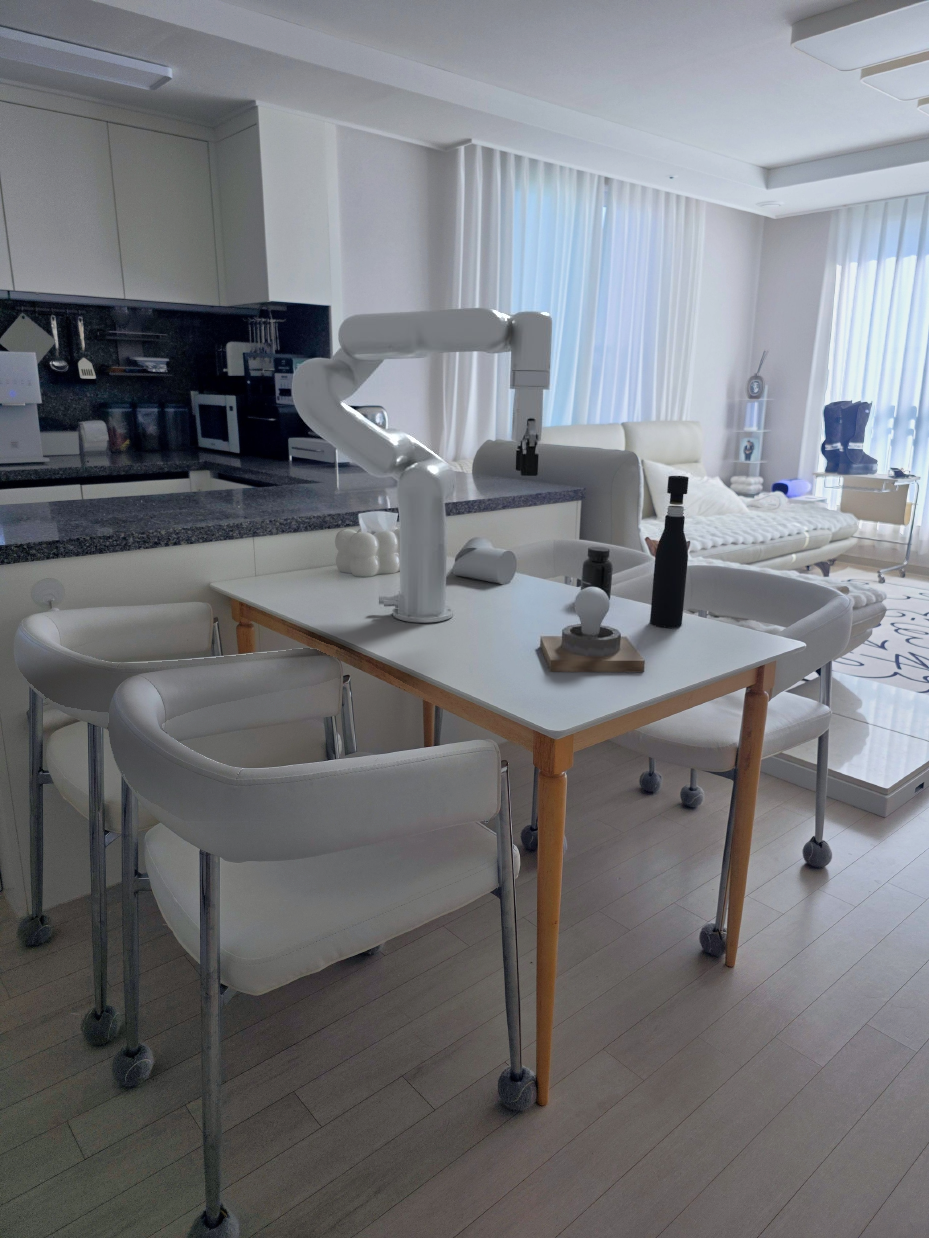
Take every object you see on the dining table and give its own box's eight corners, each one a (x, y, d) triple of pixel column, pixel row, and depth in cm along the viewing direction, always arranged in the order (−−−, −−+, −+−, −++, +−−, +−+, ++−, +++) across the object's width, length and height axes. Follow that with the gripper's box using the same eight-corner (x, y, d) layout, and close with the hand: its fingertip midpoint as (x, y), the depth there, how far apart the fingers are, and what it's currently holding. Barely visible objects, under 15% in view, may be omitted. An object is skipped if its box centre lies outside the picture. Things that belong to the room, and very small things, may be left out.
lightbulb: (606, 653, 143) (610, 592, 140) (570, 651, 144) (574, 590, 141) (607, 643, 149) (611, 584, 146) (573, 641, 150) (576, 582, 147)
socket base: (550, 671, 139) (551, 643, 138) (540, 646, 153) (541, 620, 152) (643, 671, 140) (646, 643, 139) (625, 646, 154) (627, 621, 152)
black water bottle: (675, 629, 165) (689, 479, 157) (645, 624, 168) (657, 476, 160) (685, 622, 170) (699, 476, 162) (655, 617, 174) (667, 474, 166)
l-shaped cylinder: (427, 571, 209) (490, 583, 197) (433, 529, 208) (497, 539, 196) (469, 575, 223) (530, 586, 211) (475, 536, 222) (537, 546, 210)
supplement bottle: (576, 602, 185) (579, 549, 182) (584, 595, 192) (587, 544, 188) (606, 605, 183) (610, 552, 180) (613, 598, 189) (616, 547, 186)
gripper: (506, 381, 164) (503, 468, 168) (514, 380, 147) (511, 477, 152) (543, 382, 164) (539, 469, 168) (556, 381, 147) (551, 478, 152)
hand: (526, 473), depth 160 cm, fingers open, 9 cm apart
